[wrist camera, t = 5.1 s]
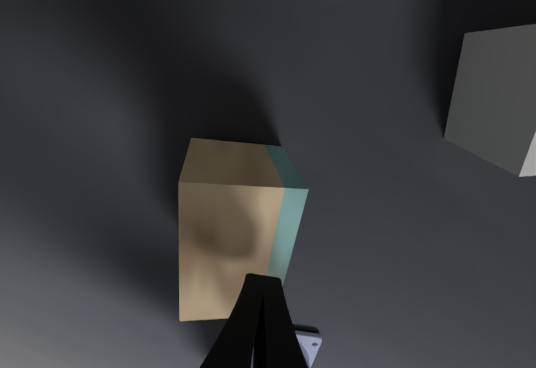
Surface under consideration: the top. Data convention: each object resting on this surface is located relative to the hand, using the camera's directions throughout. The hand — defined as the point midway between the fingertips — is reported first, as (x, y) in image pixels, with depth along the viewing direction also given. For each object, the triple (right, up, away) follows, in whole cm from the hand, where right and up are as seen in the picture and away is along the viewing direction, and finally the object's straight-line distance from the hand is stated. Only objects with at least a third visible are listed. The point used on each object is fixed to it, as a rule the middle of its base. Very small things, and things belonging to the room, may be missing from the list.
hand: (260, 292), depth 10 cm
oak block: (+1, +2, +4) cm, 4 cm away
